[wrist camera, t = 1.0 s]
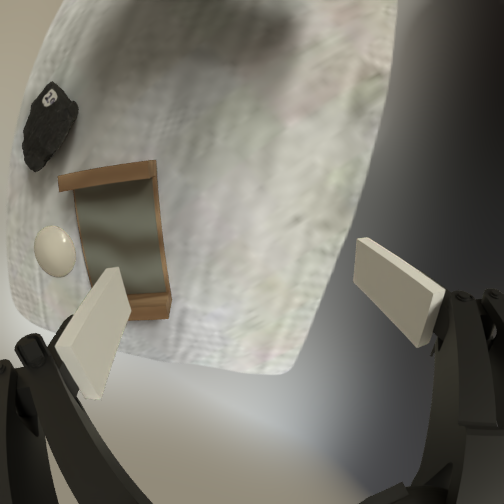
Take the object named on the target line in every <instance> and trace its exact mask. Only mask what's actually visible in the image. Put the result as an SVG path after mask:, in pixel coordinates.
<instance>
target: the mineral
mask: <svg viewBox="0 0 504 504" xmlns="http://www.w3.org/2000/svg"><path fill="white" fill-rule="evenodd" d="M78 110H79V109H78V106H77V104H76V102H75V101H71V100H70V99H69V98H68V97H67V95H66V94H65V92H64V91H63V90H62V89H61V88H60V87H59V86H58V85H57V84H55V83H54V82H53V81H52V82H50V83H49V84H47V85H46V87H45V88H44V90H43V91H42V92H41V93H40V94H39V96H38V97H37V99H35V100H34V102H33V103H32V105H31V112H30V115H29V117H28V120H27V122H26V125H25V127H24V130H23V133H24V141H23V143H22V149H23V154H24V161H25V163H26V164H27V165H28V167H29V168H30V169H31V170H33V171H34V172H36V171H39V170H41V169H42V167H44V166H45V165H46V163H47V161H48V160H49V159H50V158H51V157H52V156H53V154H54V153H55V152H56V151H57V150H58V149H59V148H60V146H61V145H62V143H63V141H64V139H65V138H66V136H67V134H68V132H69V130H70V127H71V125H72V124H73V122H74V121H75V119H76V117H77V114H78Z"/></svg>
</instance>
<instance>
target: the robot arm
mask: <svg viewBox="0 0 504 504" xmlns="http://www.w3.org/2000/svg"><path fill="white" fill-rule="evenodd" d="M353 282H354V283H355V284H356V285H357V286H358V287H359V288H360V289H361V290H362V291H363V292H364V293H365V294H366V295H367V296H368V297H369V298H370V299H371V300H372V301H373V302H374V303H375V304H376V305H377V306H378V307H379V308H380V309H381V310H382V312H383V313H384V314H385V315H386V316H387V317H388V318H389V319H390V320H391V321H392V322H393V323H394V324H395V325H396V326H397V327H398V328H399V329H400V330H401V331H402V332H403V333H404V334H405V336H406V337H407V338H408V339H409V340H410V341H411V342H412V343H413V344H414V345H415V346H416V347H417V348H418V347H421V346H423V345H426V344H428V343H429V342H430V339H431V336H432V333H433V332H434V333H435V334H436V335H437V339H436V342H435V344H434V347H433V349H432V352H431V355H430V356H433V353H435V364H434V366H435V367H434V382H433V394H432V403H431V411H430V419H429V426H428V432H427V438H426V443H425V448H424V453H423V457H422V461H421V465H420V468H419V471H418V473H417V474H416V476H415V478H414V480H413V482H412V484H411V486H410V487H405V486H404V484H403V482H401V483H399V484H397V485H395V486H393V487H391V488H388V489H386V490H384V491H382V492H380V493H377V494H375V495H373V496H370V497H368V498H367V499H365V500H364V501H362V502H361V503H359V504H504V294H503V293H501V292H499V290H497V289H486V290H485V291H484V294H483V297H482V299H475V298H474V297H473V296H472V295H471V294H469V293H467V292H464V291H453V292H450V291H449V290H447V289H446V288H445V287H443V286H442V285H440V284H439V283H438V282H435V280H433V279H432V278H430V277H429V276H428V275H426V274H425V273H423V272H421V271H418V270H417V269H415V268H414V267H412V266H411V265H409V264H408V263H407V262H405V261H404V260H402V259H401V258H399V257H397V256H396V255H394V254H393V253H391V252H390V251H388V250H387V249H385V248H384V247H382V246H381V245H379V244H377V243H376V242H374V241H372V240H371V239H369V238H368V237H367V238H359V239H357V242H356V256H355V268H354V278H353ZM130 313H131V308H130V305H129V301H128V298H127V295H126V291H125V288H124V284H123V280H122V277H121V273H120V269H119V267H113V268H106V270H105V271H104V272H103V274H102V275H101V276H100V278H99V279H98V281H97V282H96V283H95V285H94V286H93V288H92V289H91V290H90V292H89V293H88V295H87V296H86V298H85V299H84V301H83V302H82V303H81V305H80V306H79V308H78V309H77V311H76V313H75V314H74V315H71V316H69V317H68V318H67V319H66V320H65V321H64V322H63V323H62V325H61V326H60V328H59V329H58V331H57V332H56V335H55V336H54V337H53V339H52V340H51V342H50V344H49V345H48V347H47V346H46V344H45V342H44V340H43V338H42V336H41V335H40V334H37V333H33V334H29V335H26V336H25V337H23V338H21V339H20V340H19V341H18V342H17V344H16V346H15V352H16V354H17V355H18V357H19V359H20V361H21V362H22V364H23V366H24V367H21V368H14V367H13V366H12V364H11V362H10V361H9V360H6V359H3V360H0V504H59V503H58V499H57V496H56V492H55V488H54V484H53V479H52V475H51V471H50V465H49V460H48V453H47V448H46V440H45V436H46V438H47V441H48V444H49V446H50V448H51V450H52V453H53V455H54V457H55V459H56V462H57V464H58V466H59V468H60V470H61V472H62V474H63V476H64V478H65V480H66V482H67V484H68V486H69V487H70V489H71V491H72V493H73V494H74V496H75V498H76V499H77V501H78V503H79V504H153V503H152V502H151V501H150V500H149V499H148V498H147V497H146V495H145V494H144V493H143V492H142V491H141V490H140V489H139V487H138V486H137V485H136V484H135V483H134V481H133V480H132V479H131V478H130V476H129V475H128V474H127V473H126V472H125V470H124V469H123V468H122V466H121V465H120V464H119V462H118V461H117V459H116V458H115V457H114V455H113V454H112V453H111V451H110V450H109V448H108V447H107V445H106V444H105V442H104V441H103V439H102V438H101V436H100V435H99V433H98V432H97V430H96V428H95V427H94V425H93V424H92V422H91V420H90V418H89V417H88V415H87V413H86V412H85V410H84V408H83V406H82V404H81V402H80V401H79V400H78V398H77V393H78V391H79V390H80V391H81V393H82V394H83V396H84V397H85V399H95V400H101V399H102V395H103V392H104V388H105V385H106V382H107V379H108V376H109V372H110V369H111V366H112V363H113V360H114V357H115V354H116V351H117V349H118V346H119V343H120V340H121V337H122V335H123V332H124V329H125V327H126V324H127V321H128V319H129V316H130ZM495 327H496V329H497V334H496V337H495V338H493V336H492V334H493V332H494V329H495ZM496 421H497V424H498V427H497V424H496Z"/></svg>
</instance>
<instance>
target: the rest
mask: <svg viewBox="0 0 504 504" xmlns="http://www.w3.org/2000/svg"><path fill="white" fill-rule="evenodd" d="M58 185H59V192H63V191H68V190H73V193H74V201H75V208H76V215H77V222H78V228H79V233H80V239H81V244H82V249H83V253H84V258H85V263H86V267H87V271H88V275H89V279H90V283H91V287H92V288H93V286H94V285H95V283H96V282H97V281H98V279H99V278H100V276H101V275H102V274H103V272H104V271H105V270H106V268H113V267H119V269H120V273H121V277H122V280H123V284H124V288H125V291H126V295H127V298H128V301H129V305H130V308H131V313H130V316H129V319H128V321H132V320H157V319H169V313H170V308H171V302H172V297H171V291H170V285H169V278H168V272H167V265H166V258H165V250H164V243H163V234H162V226H161V216H160V206H159V195H158V182H157V167H156V160H149V161H141V162H133V163H126V164H119V165H113V166H107V167H101V168H95V169H90V170H84V171H79V172H74V173H69V174H65V175H60V176H58Z"/></svg>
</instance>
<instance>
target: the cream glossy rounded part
mask: <svg viewBox="0 0 504 504" xmlns="http://www.w3.org/2000/svg"><path fill="white" fill-rule="evenodd" d="M34 252H35V256H36V259H37V261H38V263H39V265H40V266H41V267H42V269H43V270H44V271H45V272H47V273H48V274H50V275H52V276H56V277H62V276H65V275H67V274H68V273H69V272H70V271H71V270H72V268H73V267H74V264H75V260H76V251H75V247H74V244H73V242H72V240H71V238H70V236H69V235H68V234H67V233H66V232H65V231H64V230H63V229H61V228H59V227H57V226H47V227H45V228H43V229H42V230H40V231H39V233H38V234H37V236H36V238H35V242H34Z"/></svg>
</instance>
